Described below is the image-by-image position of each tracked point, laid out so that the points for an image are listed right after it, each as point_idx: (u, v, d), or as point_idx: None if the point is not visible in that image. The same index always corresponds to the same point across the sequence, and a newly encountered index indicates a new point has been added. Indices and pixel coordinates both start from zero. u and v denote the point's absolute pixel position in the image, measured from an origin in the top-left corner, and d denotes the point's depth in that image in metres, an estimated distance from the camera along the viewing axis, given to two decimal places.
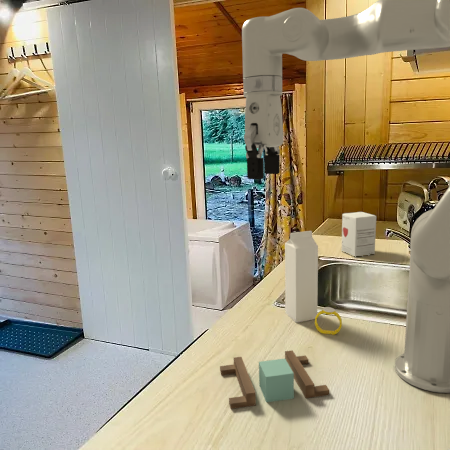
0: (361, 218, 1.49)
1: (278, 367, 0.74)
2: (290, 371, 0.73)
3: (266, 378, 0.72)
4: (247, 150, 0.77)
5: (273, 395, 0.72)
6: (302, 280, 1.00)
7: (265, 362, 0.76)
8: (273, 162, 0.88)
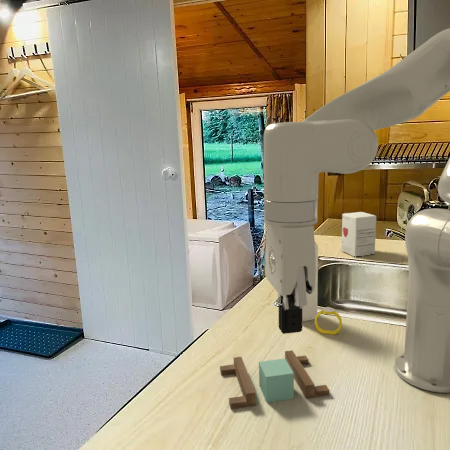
0: (361, 218, 1.49)
1: (278, 367, 0.74)
2: (290, 371, 0.73)
3: (266, 378, 0.72)
4: None
5: (273, 395, 0.72)
6: None
7: (265, 362, 0.76)
8: None
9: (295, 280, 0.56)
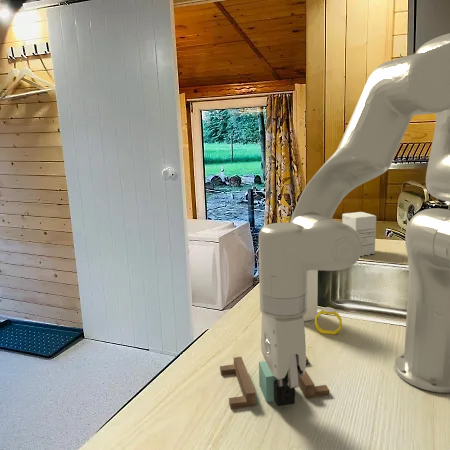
0: (361, 218, 1.49)
1: None
2: None
3: (266, 378, 0.72)
4: None
5: (273, 395, 0.72)
6: None
7: (265, 362, 0.76)
8: None
9: (288, 366, 0.63)
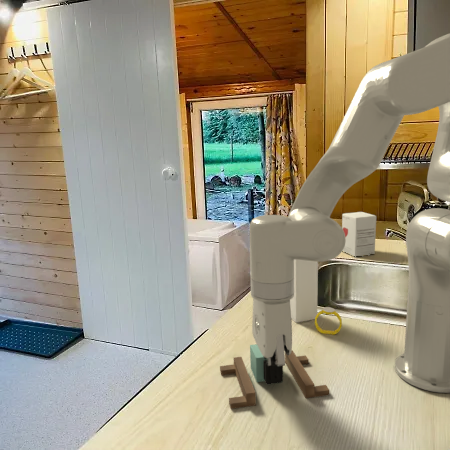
0: (361, 218, 1.49)
1: None
2: None
3: (256, 359, 0.77)
4: None
5: (262, 375, 0.78)
6: (302, 280, 1.00)
7: (256, 345, 0.82)
8: None
9: (275, 346, 0.69)
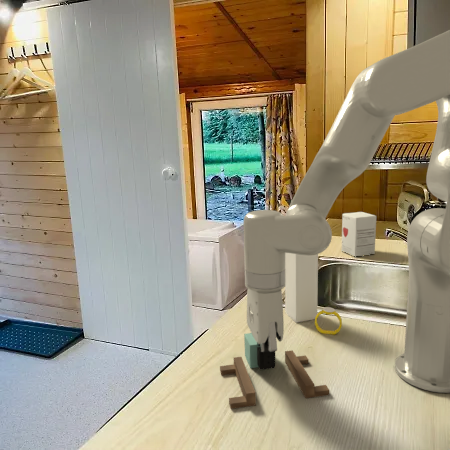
0: (361, 218, 1.49)
1: None
2: None
3: (250, 346, 0.82)
4: None
5: (256, 362, 0.83)
6: (302, 280, 1.00)
7: (250, 334, 0.86)
8: None
9: (268, 332, 0.74)
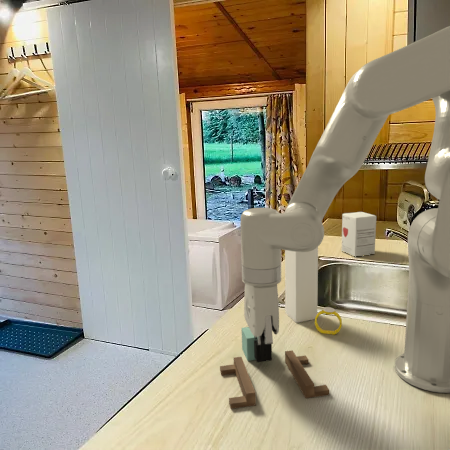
0: (361, 218, 1.49)
1: None
2: None
3: (247, 339, 0.85)
4: None
5: (253, 354, 0.86)
6: (302, 280, 1.00)
7: (247, 328, 0.89)
8: None
9: (264, 325, 0.76)
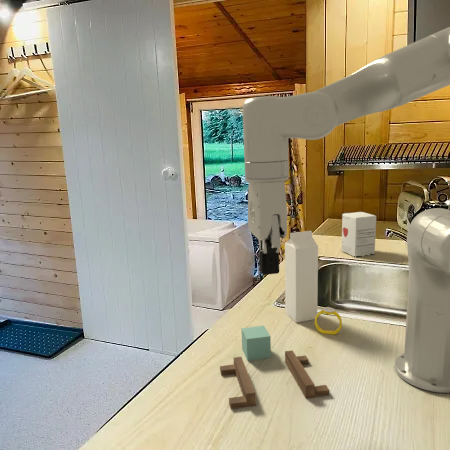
0: (361, 218, 1.49)
1: (257, 332, 0.88)
2: (267, 334, 0.86)
3: (247, 340, 0.85)
4: None
5: (253, 355, 0.86)
6: (302, 280, 1.00)
7: (247, 328, 0.89)
8: None
9: (270, 226, 0.68)
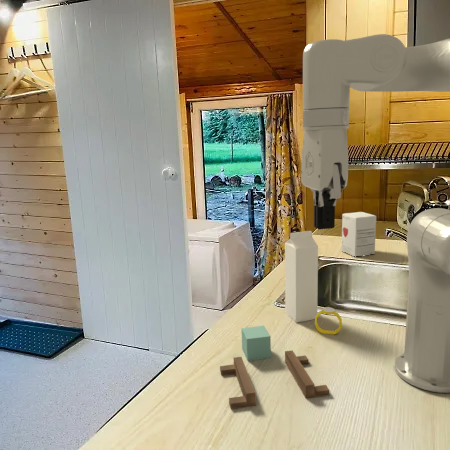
0: (361, 218, 1.49)
1: (257, 332, 0.88)
2: (267, 334, 0.86)
3: (247, 340, 0.85)
4: None
5: (253, 355, 0.86)
6: (302, 280, 1.00)
7: (247, 328, 0.89)
8: None
9: (331, 174, 0.66)
